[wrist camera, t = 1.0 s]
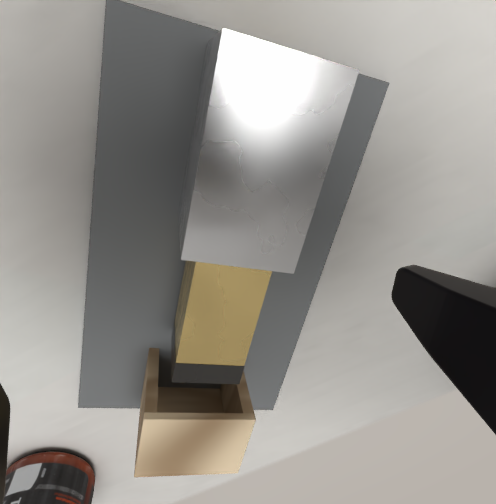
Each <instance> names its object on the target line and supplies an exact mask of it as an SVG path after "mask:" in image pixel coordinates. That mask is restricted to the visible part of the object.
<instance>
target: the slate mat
mask: <svg viewBox="0 0 496 504" xmlns="http://www.w3.org/2000/svg"><path fill="white" fill-rule="evenodd" d="M218 32H219V31H218V30H214V29H211V28H208V27H205V26H201V25H198V24H195V23H191V22H188V21H185V20H182V19H178V18H175V17H172V16H168V15H165V14H162V13H159V12H155V11H152V10H149V9H146V8H142V7H139V6H136V5H132V4H129V3H126V2H123V1H119V0H106V9H105V24H104V38H103V53H102V68H101V82H100V97H99V111H98V126H97V141H96V155H95V170H94V184H93V199H92V214H91V228H90V243H89V257H88V272H87V287H86V301H85V316H84V330H83V345H82V359H81V374H80V389H79V403H78V408H140V405H141V396H142V390H143V384H144V377H145V371H146V365H147V358H148V352H149V348H159V373H158V387H177V388H214V389H220V387H221V384H209V383H177V382H172V376H171V336H172V330H173V325H174V320H175V317H176V311H177V306H178V300H179V295H180V290H181V284H182V279H183V274H184V268H185V263H186V260H181V254H180V238H179V222H178V215H179V209H180V203H181V197H182V191H183V185H184V179H185V173H186V167H187V161H188V156H189V150H190V144H191V138H192V132H193V126H194V120H195V114H196V108H197V102H198V96H199V90H200V84H201V78H202V72H203V67H204V61H205V55H206V49H207V43H208V41H209V40H210V39H211V38H212V37H213V36H214V35H215V34H216V33H218ZM388 86H389V83H388V82H385V81H382V80H378V79H375V78H372V77H368V76H365V75H362V74H359V73H358V76H357V80H356V83H355V86H354V89H353V92H352V95H351V98H350V101H349V104H348V107H347V111H346V114H345V117H344V120H343V123H342V126H341V129H340V132H339V135H338V138H337V141H336V145H335V148H334V151H333V154H332V157H331V160H330V163H329V166H328V169H327V172H326V176H325V179H324V182H323V185H322V188H321V191H320V194H319V197H318V200H317V203H316V207H315V210H314V213H313V216H312V219H311V222H310V225H309V228H308V231H307V234H306V237H305V241H304V244H303V247H302V250H301V253H300V256H299V259H298V262H297V265H296V268H295V272H294V274H291V273H283V272H275V271H272V274H271V277H270V280H269V284H268V287H267V291H266V294H265V297H264V301H263V304H262V307H261V311H260V314H259V318H258V321H257V324H256V328H255V331H254V335H253V338H252V341H251V345H250V348H249V351H248V355H247V358H246V362H245V365H244V366H245V367H244V370H243V371H244V375H245V379H246V383H247V387H248V391H249V395H250V399H251V403H252V407H253V410H273V408H274V405H275V402H276V399H277V397H278V394H279V391H280V388H281V385H282V383H283V380H284V377H285V374H286V371H287V369H288V366H289V363H290V360H291V357H292V355H293V352H294V349H295V346H296V343H297V341H298V338H299V335H300V332H301V329H302V327H303V324H304V321H305V318H306V315H307V313H308V310H309V307H310V304H311V301H312V298H313V296H314V293H315V290H316V287H317V284H318V282H319V279H320V276H321V273H322V270H323V268H324V265H325V262H326V259H327V256H328V254H329V251H330V248H331V245H332V242H333V240H334V237H335V234H336V231H337V228H338V226H339V223H340V220H341V217H342V214H343V212H344V209H345V206H346V203H347V200H348V198H349V195H350V192H351V189H352V186H353V184H354V181H355V178H356V175H357V172H358V170H359V167H360V164H361V161H362V158H363V156H364V153H365V150H366V147H367V144H368V142H369V139H370V136H371V133H372V130H373V128H374V125H375V122H376V119H377V116H378V114H379V111H380V108H381V105H382V102H383V100H384V97H385V94H386V91H387V88H388Z"/></svg>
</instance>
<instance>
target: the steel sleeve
mask: <svg viewBox="0 0 496 504" xmlns="http://www.w3.org/2000/svg"><path fill="white" fill-rule="evenodd" d="M358 73H359V69H355V68H352V67H349V66H346V65H342V64H339V63H336V62H333V61H329V60H326V59H323V58H320V57H316V56H313V55H310V54H307V53H304V52H300V51H297V50H294V49H291V48H287V47H284V46H281V45H278V44H274V43H271V42H268V41H265V40H261V39H258V38H255V37H252V36H248V35H245V34H242V33H239V32H235V31H232V30H229V29H226V28H222V29H221V30H220V31H219V32H218V33H216V34H215V35H214V36H213V37H212V38H211V39H210V40H209V41H208V43H207V49H206V55H205V61H204V67H203V72H202V78H201V84H200V90H199V96H198V102H197V108H196V114H195V120H194V126H193V132H192V138H191V144H190V150H189V156H188V161H187V167H186V173H185V179H184V185H183V191H182V197H181V203H180V209H179V215H178V222H179V238H180V254H181V260H186V261H194V262H203V263H211V264H219V265H227V266H235V267H243V268H251V269H259V270H267V271H275V272H283V273H291V274H294V272H295V268H296V265H297V262H298V259H299V256H300V253H301V250H302V247H303V244H304V241H305V237H306V234H307V231H308V228H309V225H310V222H311V219H312V216H313V213H314V210H315V207H316V203H317V200H318V197H319V194H320V191H321V188H322V185H323V182H324V179H325V176H326V172H327V169H328V166H329V163H330V160H331V157H332V154H333V151H334V148H335V145H336V141H337V138H338V135H339V132H340V129H341V126H342V123H343V120H344V117H345V114H346V111H347V107H348V104H349V101H350V98H351V95H352V92H353V89H354V86H355V83H356V80H357V76H358Z"/></svg>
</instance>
